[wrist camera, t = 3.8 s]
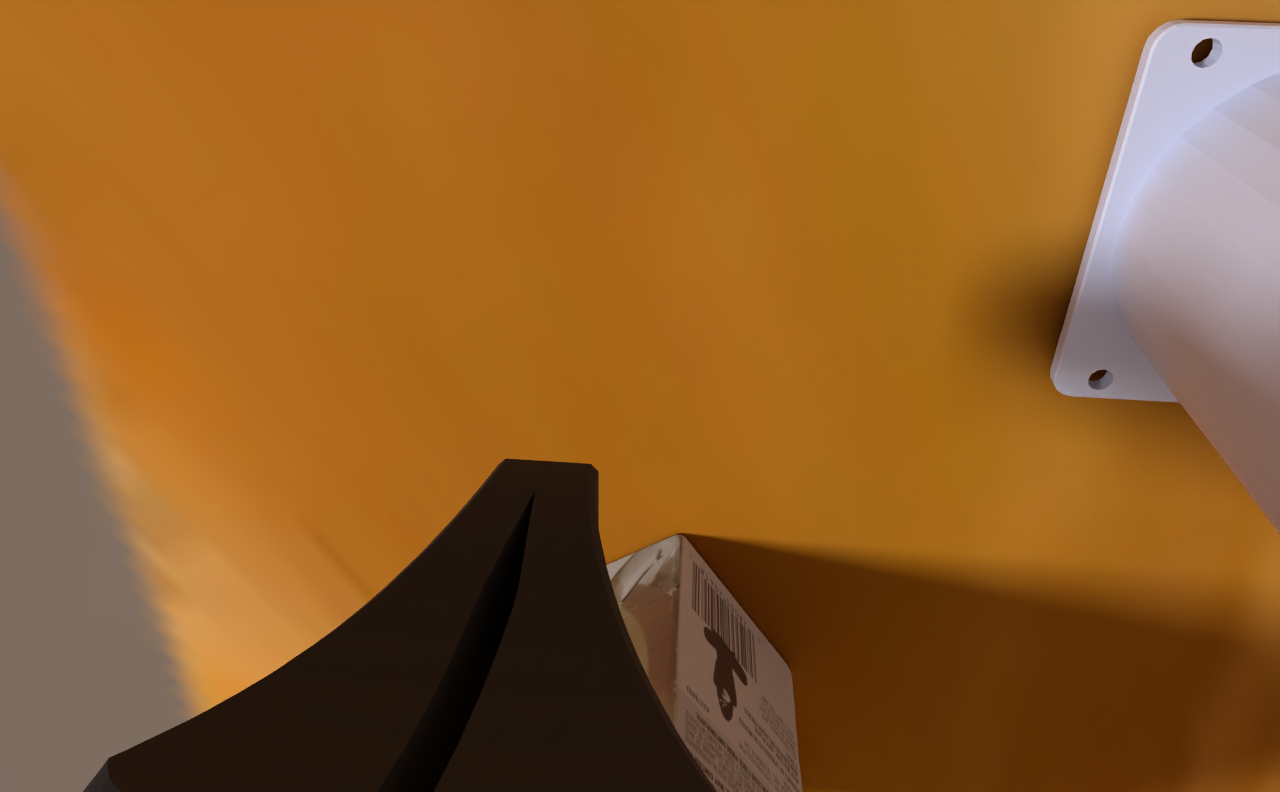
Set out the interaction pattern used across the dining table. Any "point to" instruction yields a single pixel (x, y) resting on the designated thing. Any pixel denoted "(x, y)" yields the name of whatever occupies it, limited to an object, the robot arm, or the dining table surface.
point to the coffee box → (710, 668)
